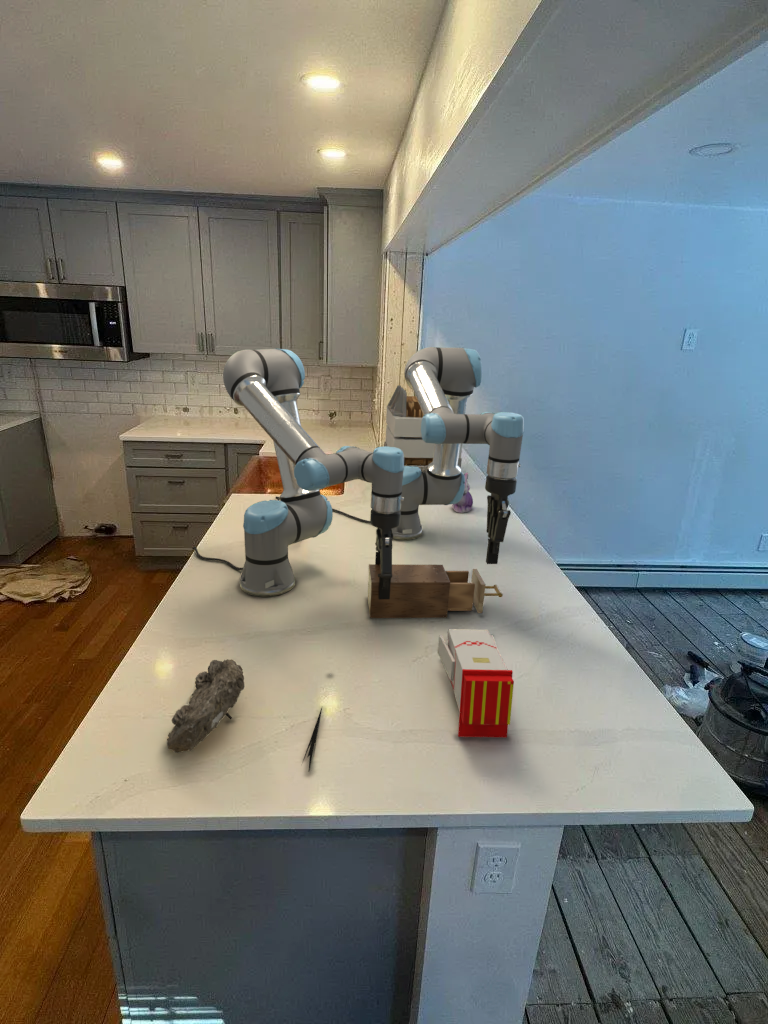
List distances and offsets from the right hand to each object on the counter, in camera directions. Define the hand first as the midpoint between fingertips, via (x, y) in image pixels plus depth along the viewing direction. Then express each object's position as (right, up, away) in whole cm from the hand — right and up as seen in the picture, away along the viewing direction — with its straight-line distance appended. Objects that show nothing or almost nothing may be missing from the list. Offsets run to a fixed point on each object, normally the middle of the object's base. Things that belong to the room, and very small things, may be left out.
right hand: (491, 562), depth 148 cm
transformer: (-11, +32, +127) cm, 131 cm away
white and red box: (-10, -24, -30) cm, 40 cm away
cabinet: (-22, -12, +3) cm, 25 cm away
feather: (-41, -27, -40) cm, 63 cm away
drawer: (-9, -11, +3) cm, 15 cm away
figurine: (+3, +14, +79) cm, 80 cm away
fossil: (-61, -26, -40) cm, 77 cm away
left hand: (-29, -6, 0) cm, 29 cm away
